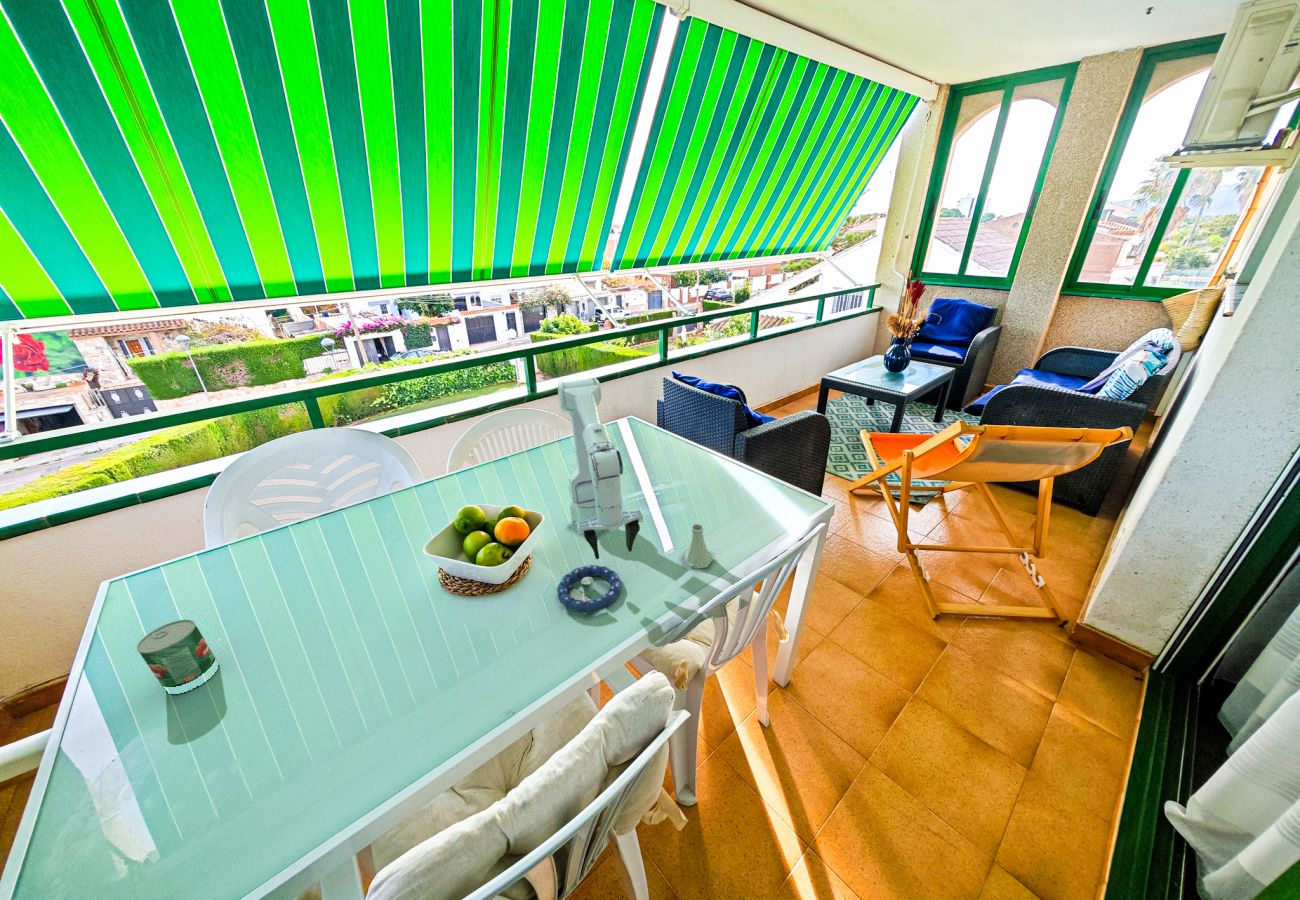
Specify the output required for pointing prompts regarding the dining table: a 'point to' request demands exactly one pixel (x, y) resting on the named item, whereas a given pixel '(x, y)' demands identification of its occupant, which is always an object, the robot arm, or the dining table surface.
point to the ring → (592, 604)
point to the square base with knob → (587, 590)
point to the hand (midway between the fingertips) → (613, 552)
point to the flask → (697, 548)
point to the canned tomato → (176, 653)
